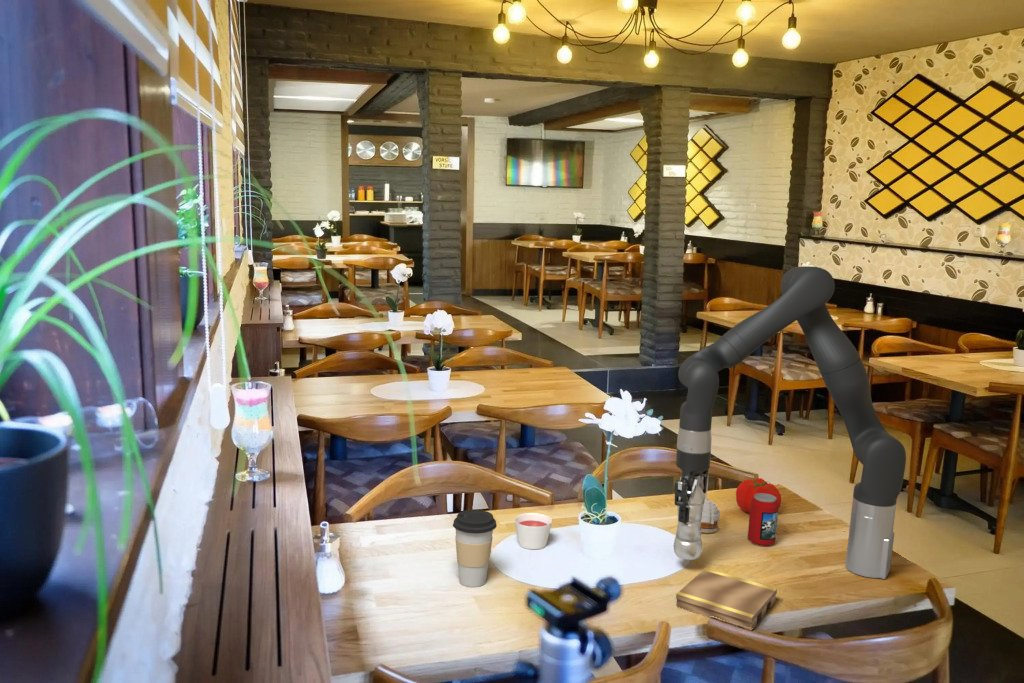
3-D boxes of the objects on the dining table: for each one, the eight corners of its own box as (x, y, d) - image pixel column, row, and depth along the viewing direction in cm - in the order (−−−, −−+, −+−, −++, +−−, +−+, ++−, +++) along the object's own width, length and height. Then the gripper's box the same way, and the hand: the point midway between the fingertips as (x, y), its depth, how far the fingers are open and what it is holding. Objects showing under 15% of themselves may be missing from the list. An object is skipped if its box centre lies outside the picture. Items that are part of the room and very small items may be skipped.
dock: (775, 602, 176) (777, 588, 175) (750, 632, 163) (751, 617, 162) (704, 580, 185) (705, 567, 184) (675, 607, 172) (676, 593, 171)
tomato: (774, 523, 220) (777, 493, 219) (728, 513, 227) (730, 483, 225) (785, 509, 231) (788, 480, 230) (741, 500, 237) (743, 471, 236)
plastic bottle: (705, 555, 191) (710, 472, 188) (696, 566, 185) (701, 480, 182) (678, 549, 194) (683, 467, 191) (668, 559, 189) (673, 475, 185)
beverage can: (769, 550, 203) (773, 503, 201) (743, 542, 207) (747, 497, 205) (779, 542, 208) (783, 496, 206) (753, 534, 212) (757, 490, 210)
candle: (557, 548, 199) (558, 523, 198) (523, 554, 195) (524, 529, 194) (540, 535, 207) (541, 511, 206) (507, 540, 203) (508, 515, 202)
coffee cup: (446, 574, 183) (447, 510, 180) (486, 569, 186) (488, 506, 184) (458, 593, 174) (460, 526, 172) (500, 588, 177) (503, 521, 175)
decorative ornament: (716, 524, 218) (721, 470, 216) (719, 535, 211) (724, 479, 208) (686, 522, 219) (690, 467, 217) (688, 533, 212) (693, 477, 209)
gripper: (697, 457, 178) (692, 531, 180) (721, 443, 189) (716, 512, 192) (665, 451, 182) (661, 523, 185) (690, 437, 194) (686, 505, 196)
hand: (689, 517), depth 188 cm, fingers closed on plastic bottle, 6 cm apart
